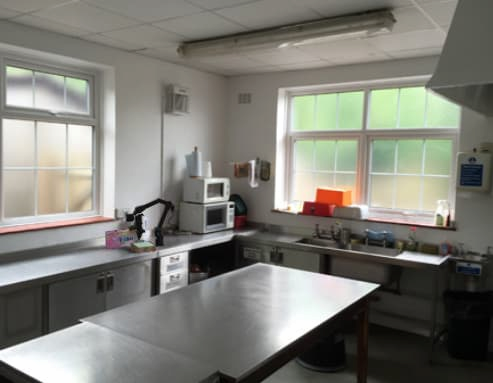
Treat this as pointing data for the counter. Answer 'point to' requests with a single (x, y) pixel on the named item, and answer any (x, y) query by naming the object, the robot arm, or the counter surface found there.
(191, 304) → the counter surface
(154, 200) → the robot arm
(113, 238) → the gum box
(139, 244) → the lid
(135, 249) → the box
